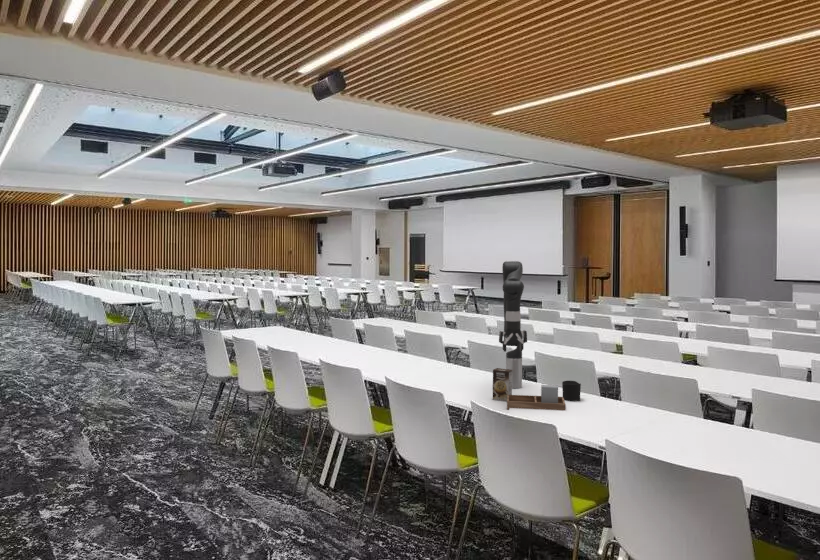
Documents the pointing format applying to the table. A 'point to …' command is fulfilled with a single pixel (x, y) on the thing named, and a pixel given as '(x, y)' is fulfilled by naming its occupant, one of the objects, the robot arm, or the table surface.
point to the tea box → (549, 394)
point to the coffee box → (502, 383)
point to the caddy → (533, 403)
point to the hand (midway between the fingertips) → (512, 351)
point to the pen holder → (571, 391)
